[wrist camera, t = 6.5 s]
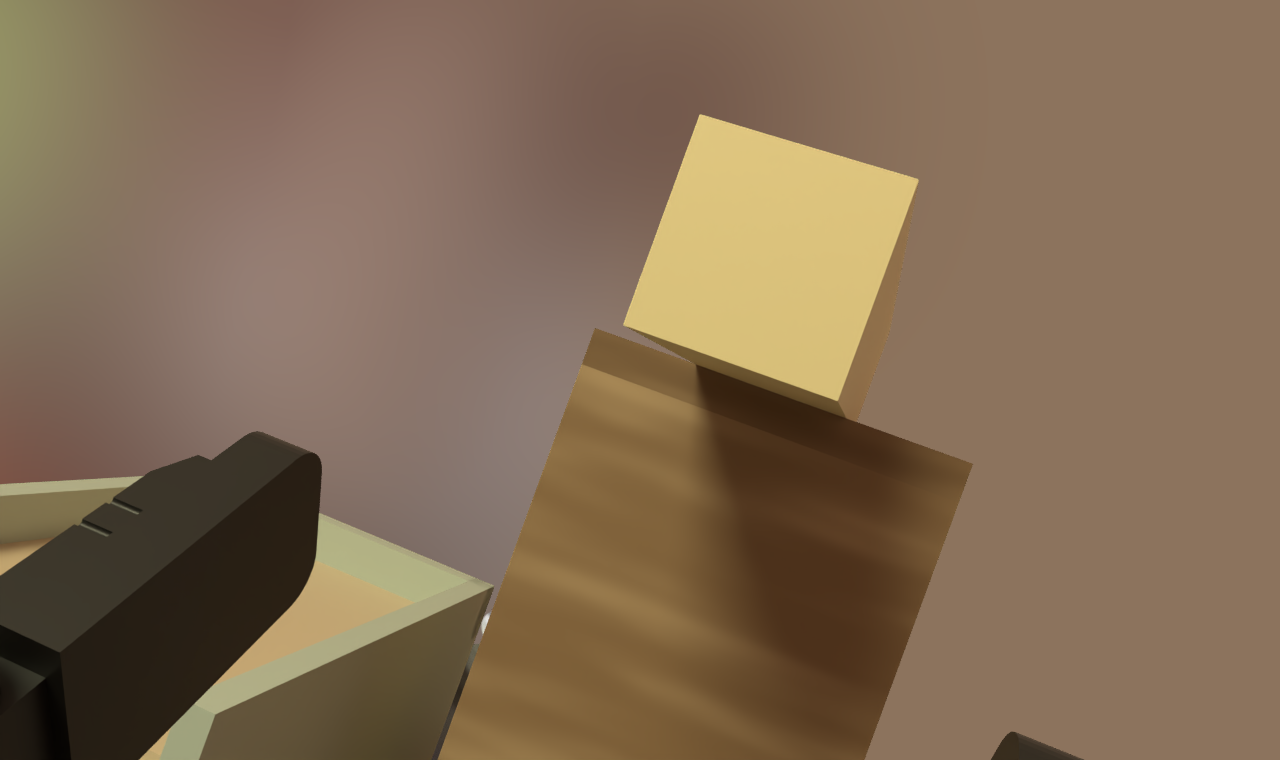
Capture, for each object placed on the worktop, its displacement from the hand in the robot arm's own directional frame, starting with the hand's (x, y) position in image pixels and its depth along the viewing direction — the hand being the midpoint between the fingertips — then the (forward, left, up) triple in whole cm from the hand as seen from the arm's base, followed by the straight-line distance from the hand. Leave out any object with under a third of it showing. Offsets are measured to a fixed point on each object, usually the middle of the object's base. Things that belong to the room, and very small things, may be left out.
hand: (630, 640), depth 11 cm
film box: (+9, +15, +4) cm, 18 cm away
